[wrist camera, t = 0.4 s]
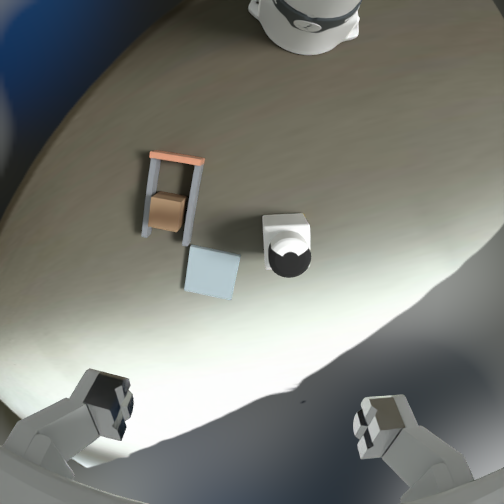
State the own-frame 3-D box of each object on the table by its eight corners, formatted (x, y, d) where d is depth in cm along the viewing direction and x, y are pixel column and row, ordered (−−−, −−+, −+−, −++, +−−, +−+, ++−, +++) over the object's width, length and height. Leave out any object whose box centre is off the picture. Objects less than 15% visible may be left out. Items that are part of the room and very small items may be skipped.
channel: (156, 150, 49) (150, 151, 46) (204, 158, 50) (201, 159, 46) (146, 232, 54) (139, 238, 51) (190, 241, 55) (186, 248, 52)
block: (160, 191, 52) (151, 196, 47) (187, 196, 52) (181, 202, 47) (156, 218, 54) (147, 226, 49) (183, 223, 54) (176, 232, 49)
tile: (191, 244, 55) (190, 246, 54) (240, 254, 56) (240, 256, 55) (185, 287, 58) (184, 290, 57) (231, 297, 59) (231, 300, 58)
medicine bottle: (304, 251, 55) (315, 281, 44) (264, 253, 56) (265, 284, 44) (303, 212, 53) (316, 234, 41) (262, 214, 53) (263, 237, 42)
